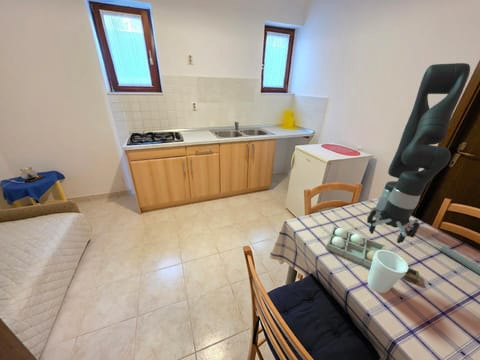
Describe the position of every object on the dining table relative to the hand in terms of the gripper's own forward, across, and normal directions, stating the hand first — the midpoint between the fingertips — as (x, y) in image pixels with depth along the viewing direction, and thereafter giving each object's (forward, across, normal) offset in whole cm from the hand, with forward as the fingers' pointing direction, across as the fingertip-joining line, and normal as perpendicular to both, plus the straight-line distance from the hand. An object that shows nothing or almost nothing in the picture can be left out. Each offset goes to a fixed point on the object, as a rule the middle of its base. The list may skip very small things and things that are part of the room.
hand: (384, 236), depth 75 cm
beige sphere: (+11, 0, 0) cm, 11 cm away
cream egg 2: (+11, +14, 0) cm, 18 cm away
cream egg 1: (+11, +14, -7) cm, 19 cm away
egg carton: (+14, +7, -3) cm, 16 cm away
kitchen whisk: (+15, -25, -25) cm, 39 cm away
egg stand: (+14, -12, 0) cm, 19 cm away
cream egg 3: (+11, +7, -7) cm, 14 cm away
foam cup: (+14, -2, +11) cm, 18 cm away
